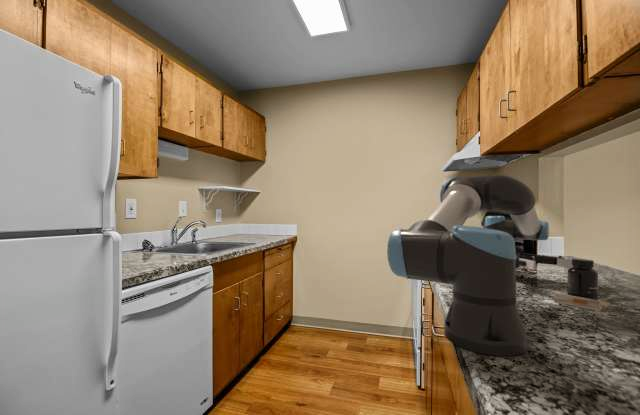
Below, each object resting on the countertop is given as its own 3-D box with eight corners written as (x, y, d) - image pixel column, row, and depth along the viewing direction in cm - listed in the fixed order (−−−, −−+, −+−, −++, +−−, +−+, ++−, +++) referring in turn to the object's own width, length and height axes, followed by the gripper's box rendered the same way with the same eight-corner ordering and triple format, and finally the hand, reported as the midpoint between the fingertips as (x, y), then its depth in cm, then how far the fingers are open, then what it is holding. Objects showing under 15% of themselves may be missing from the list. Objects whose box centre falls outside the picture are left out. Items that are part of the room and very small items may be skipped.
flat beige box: (598, 311, 82) (598, 301, 82) (554, 302, 90) (554, 293, 90) (610, 304, 87) (610, 295, 87) (567, 296, 96) (567, 288, 96)
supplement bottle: (598, 306, 84) (598, 262, 84) (566, 301, 89) (566, 259, 89) (598, 300, 89) (597, 259, 89) (568, 296, 94) (567, 257, 94)
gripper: (540, 265, 121) (591, 276, 99) (479, 265, 119) (517, 277, 98) (540, 246, 121) (591, 253, 99) (479, 246, 119) (517, 254, 98)
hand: (554, 265), depth 99 cm, fingers open, 13 cm apart
